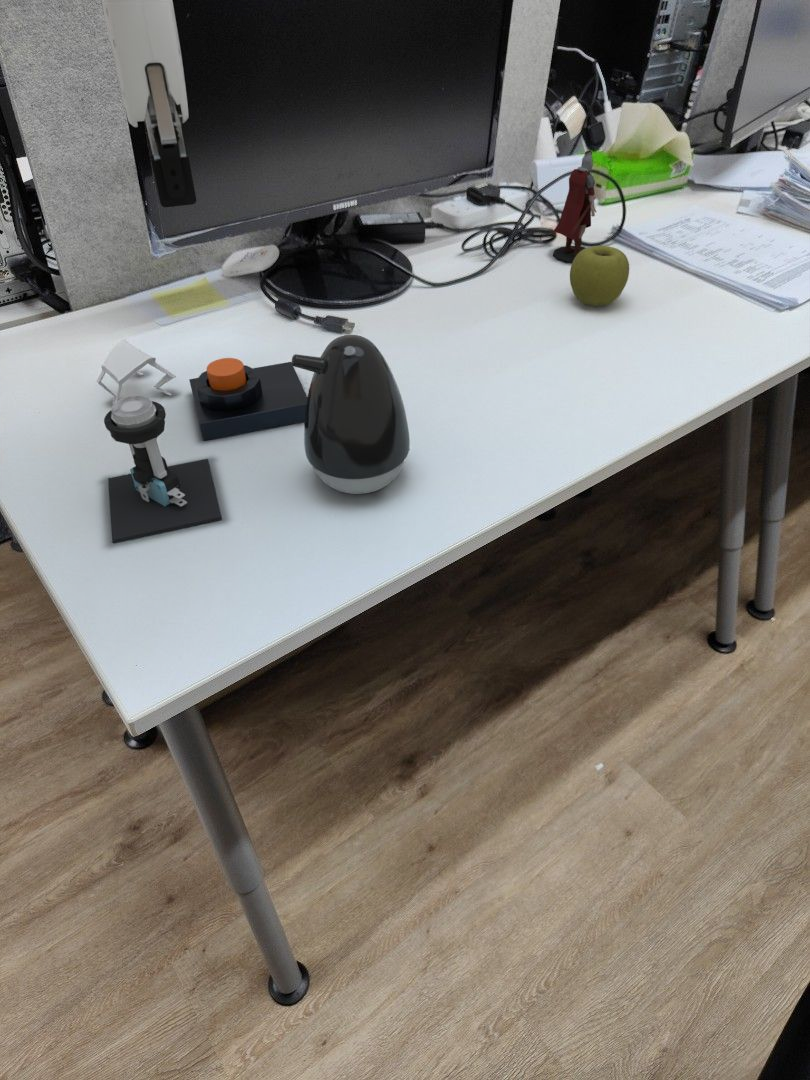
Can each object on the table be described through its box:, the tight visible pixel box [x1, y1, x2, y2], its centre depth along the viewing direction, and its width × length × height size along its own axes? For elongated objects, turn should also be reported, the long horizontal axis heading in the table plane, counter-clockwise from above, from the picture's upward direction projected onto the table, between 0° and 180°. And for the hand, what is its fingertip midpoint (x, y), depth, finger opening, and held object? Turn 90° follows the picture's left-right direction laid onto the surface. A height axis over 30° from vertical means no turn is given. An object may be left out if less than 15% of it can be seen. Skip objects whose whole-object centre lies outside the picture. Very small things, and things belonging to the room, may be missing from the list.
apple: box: [569, 245, 630, 307], centre depth 104 cm, size 8×8×7 cm
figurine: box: [552, 150, 597, 264], centre depth 114 cm, size 7×7×15 cm
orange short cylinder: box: [205, 357, 246, 391], centre depth 84 cm, size 4×4×2 cm
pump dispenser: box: [291, 334, 411, 495], centre depth 72 cm, size 10×10×15 cm
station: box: [188, 361, 308, 441], centre depth 86 cm, size 12×10×4 cm
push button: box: [103, 395, 187, 507], centre depth 71 cm, size 7×5×10 cm
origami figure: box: [96, 338, 177, 405], centre depth 89 cm, size 12×8×5 cm
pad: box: [107, 458, 223, 544], centre depth 75 cm, size 10×10×1 cm
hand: (178, 202), depth 70 cm, fingers closed
